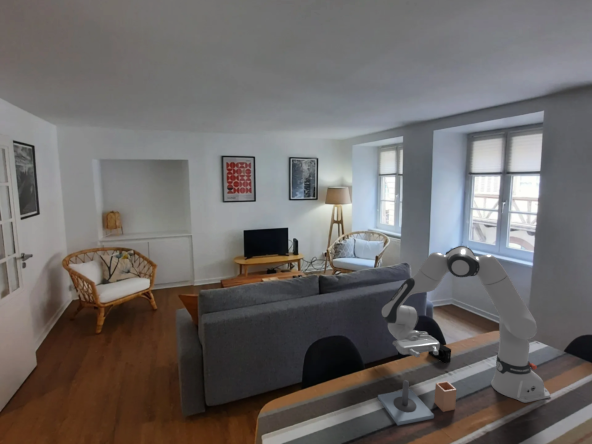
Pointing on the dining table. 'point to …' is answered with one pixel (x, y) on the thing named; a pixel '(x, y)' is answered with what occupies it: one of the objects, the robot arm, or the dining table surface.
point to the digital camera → (442, 354)
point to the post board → (405, 406)
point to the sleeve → (445, 396)
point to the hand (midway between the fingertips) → (427, 354)
